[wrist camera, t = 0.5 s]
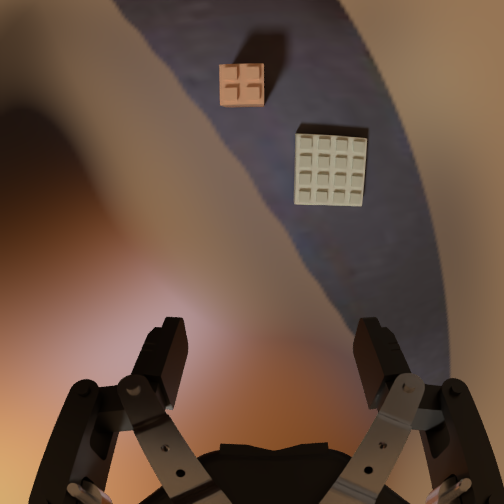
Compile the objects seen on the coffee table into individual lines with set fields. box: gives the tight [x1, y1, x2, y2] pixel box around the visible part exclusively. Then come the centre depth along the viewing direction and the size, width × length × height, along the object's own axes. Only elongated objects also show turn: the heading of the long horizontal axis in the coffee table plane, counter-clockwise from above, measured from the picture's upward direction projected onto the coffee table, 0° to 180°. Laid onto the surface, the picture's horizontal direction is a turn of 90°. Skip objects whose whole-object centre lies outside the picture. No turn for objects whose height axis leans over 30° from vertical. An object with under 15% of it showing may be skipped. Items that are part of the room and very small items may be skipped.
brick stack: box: [220, 64, 264, 107], centre depth 27 cm, size 4×4×6 cm
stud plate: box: [294, 133, 367, 206], centre depth 32 cm, size 8×8×2 cm
